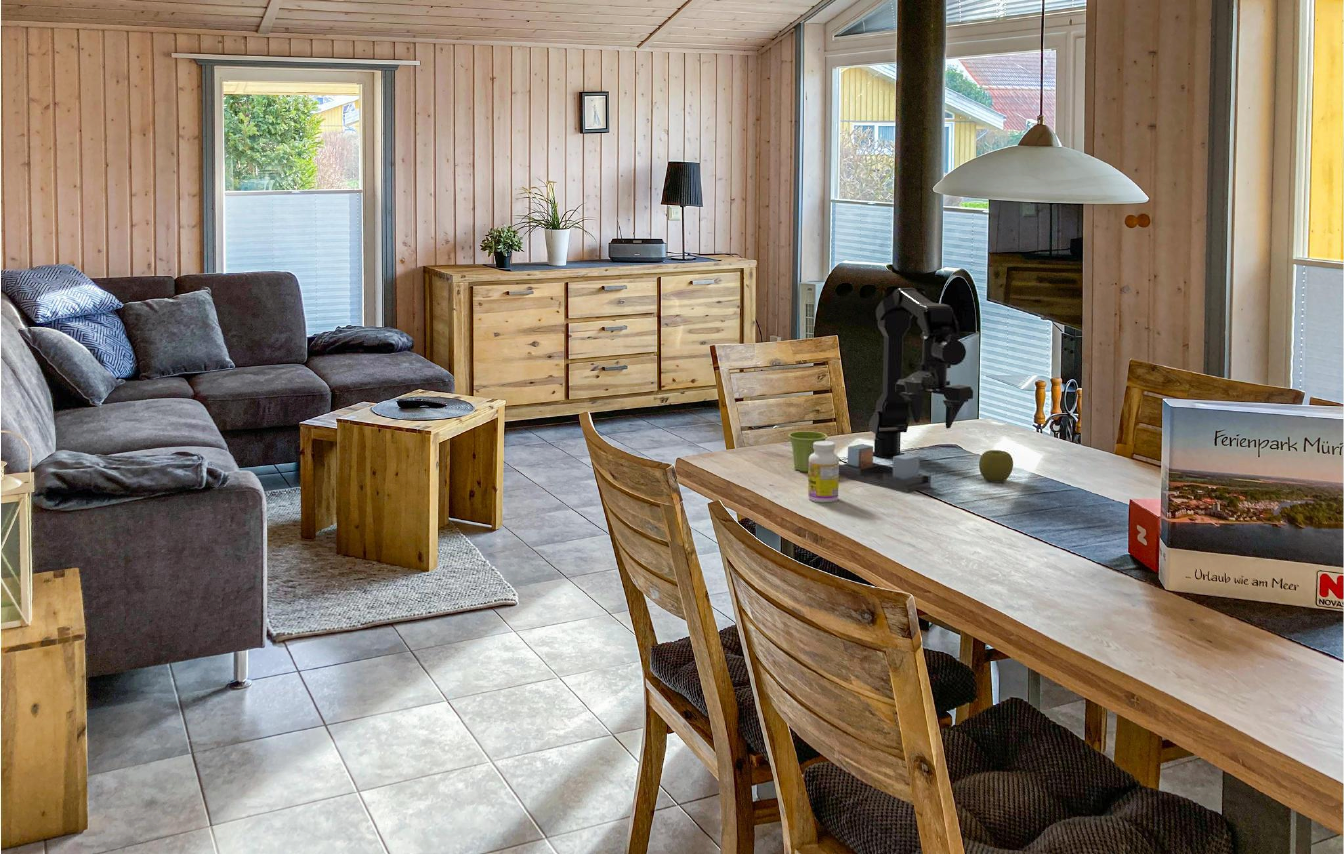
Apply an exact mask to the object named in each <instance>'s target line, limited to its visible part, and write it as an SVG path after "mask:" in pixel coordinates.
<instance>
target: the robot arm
mask: <svg viewBox="0 0 1344 854" xmlns="http://www.w3.org/2000/svg"><path fill="white" fill-rule="evenodd" d="M875 316H876V320H877V326H878V329H879V330H880V332H881V335H882V336H883V358H882V359H883V362H882V363H883V364H882V393H881V394H880V396H879V398H878V399H877V400H876V402H875V409H874V412H873V414H872V416H871V418H870V420H869V422H868V428H869V432H872V433H874V437H875V438H874V442H873V443H874V445H873V456H876V457H881V458H886V459H893V457H894V456H899V455H904V454H906V453H905V452H901V433H905V434H906V433H907V431H908V429H909V423H910V419H911V416H910V411H911V414H912V417H913V419H914V420H913V421H914V423H920V420H921V417H922V416H921V415H922V411H923V410H922V409H923V404H924V398H925V393H932V394H938V395H943V397H944V398H945V399H944V400H942V402H943V404H944V405H945V429H951V427H952V425H953V423H954V421H955V419H956V418H957V415H958V413H960V411H961V409H962V407H963V405H964V404H965V403H968V402H969V400H972V399H974V389H973V388H972V387H971V386H969V385H963V384H962V385H961V384H955V385H951V381H950V380H947V379H948V377H947V376H948V369H951V368H952V367H951V366H957V365H959V364H961V363H962V362H963V361H964V360H965V358H966V354H967V349H966V347H965V345H964V343H963V342H961V340H959V337H960V335H961V334H960V329H961V328H960V326H959V322H958V321H957V317H956V314H955V312H954V310H953V308H952V306H950V305H949V304H945V303H939V302H938V303H936V302H933V301H931V300H930V299H928V298H926V297H925V296H924V295H922V294H921V293H919V292H918V290H917V288H913V287H899V288H897V289H895V290H894V291H893V292H892V293H891V294H890V295H888V296H887V297H884V298H883V299H881V301H880V302H879V303H878V306H877V307H876V310H875ZM914 316H915V317H916V318H917V324H918V326H919V327H920V329H921V331H922V333H921V334H920V338H921V339H922V353H921V354H922V358H921V359H922V360H921V362H920V363H918V365H917V370H916V371H915V372H913V373H911V374H910V375H908V376H906V377H905V378H903V354H904V352H903V351H904V336H905V335H906V333H907V332H908V330H909V329H910V328H911V321H912V320H911V319H912V318H913V317H914ZM909 407H910V411H909Z"/></svg>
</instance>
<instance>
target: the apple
mask: <svg viewBox="0 0 1344 854" xmlns="http://www.w3.org/2000/svg"><path fill="white" fill-rule="evenodd" d="M1013 459H1014V458H1013V457H1012V455H1011V454H1010V453H1009V452H1007V451H1005V450H998V449H997V450H996V449H995V450H994V449H991V450H987V451H985V452H983V453H982V454H981V455H980V458H979V460H978V461H979V462H978V467H979V472H980V475H981V476H982V478H983V479H984V481H987V482H989V483H1001V482H1005V481H1006V480H1008V479H1009V477H1010V476H1011V474H1012V471H1013V468H1014V460H1013Z"/></svg>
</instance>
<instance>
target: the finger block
mask: <svg viewBox="0 0 1344 854" xmlns="http://www.w3.org/2000/svg"><path fill="white" fill-rule="evenodd" d="M892 467H893V477H896V478H900V479H904V480H905V479H909V478H913V477H918V476H919V473H920V455H915V454H911V453H905V454H904V455H899V456H894V457H893V458H892Z"/></svg>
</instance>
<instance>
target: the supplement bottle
mask: <svg viewBox="0 0 1344 854" xmlns="http://www.w3.org/2000/svg"><path fill="white" fill-rule="evenodd" d="M835 446H836V443H835V442H834V441H828V440H825V441H817V442H814V443H813V448H814V453H813V454H811V455H810V457H809V472H808V479H807V481H808V482H807V484H808V485H807V497H808V499H809V500H810V501H812V502H815V503H821V504H822V503H823V504H824V503H834V502H835V501H838V499H839V480H840V479H839V478H840V476H839V464H840V458H839V456H838V455H837V454H836V453H835V452H834V451H835V449H836V447H835Z"/></svg>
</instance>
